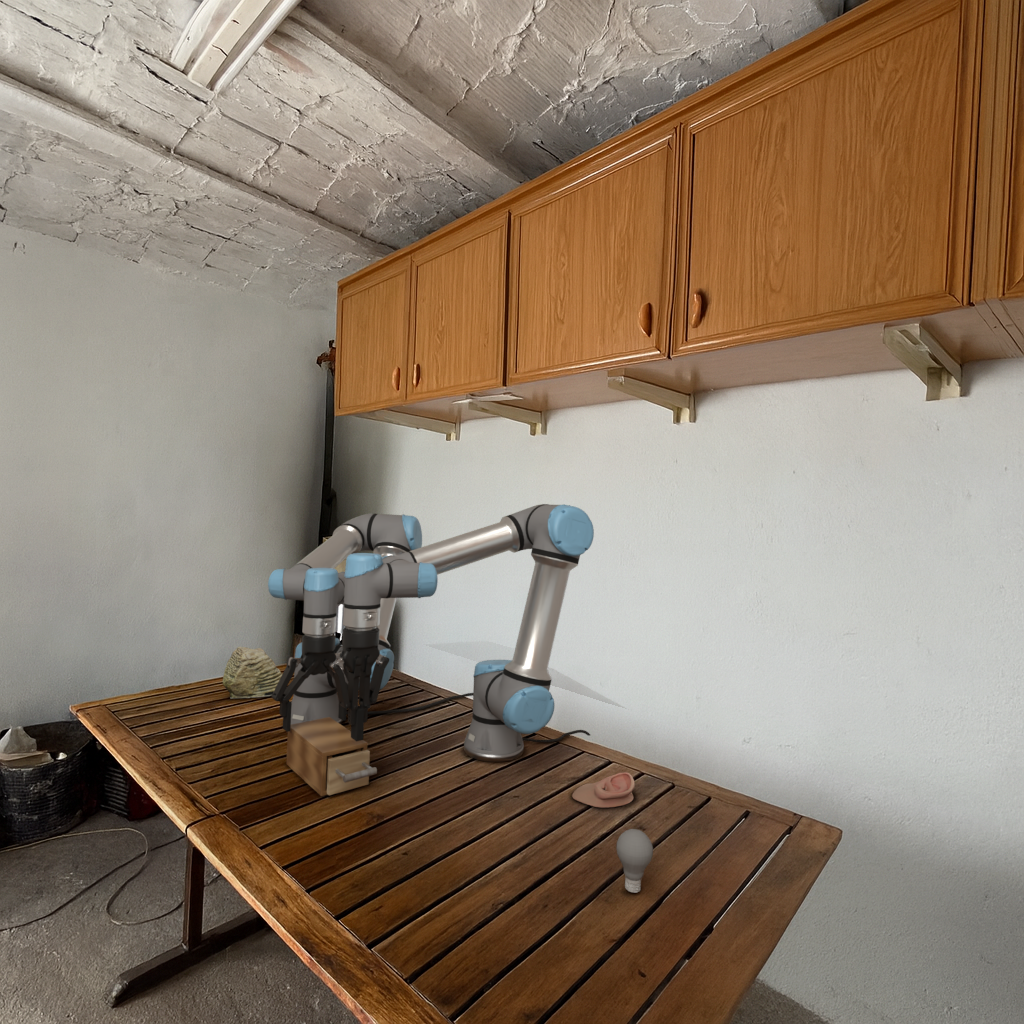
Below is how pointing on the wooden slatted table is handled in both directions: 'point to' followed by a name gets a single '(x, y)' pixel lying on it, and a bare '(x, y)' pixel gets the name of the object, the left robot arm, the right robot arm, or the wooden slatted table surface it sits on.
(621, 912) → the wooden slatted table surface
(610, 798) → the anatomical model
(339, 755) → the drawer
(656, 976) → the wooden slatted table surface
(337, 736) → the cabinet
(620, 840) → the light bulb
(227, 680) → the fossil
